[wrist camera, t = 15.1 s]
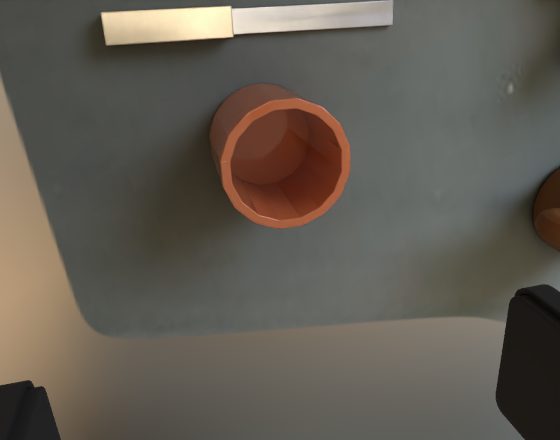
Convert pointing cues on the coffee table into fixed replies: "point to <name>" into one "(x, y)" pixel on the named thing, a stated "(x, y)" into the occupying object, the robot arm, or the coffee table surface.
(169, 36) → the knife
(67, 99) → the coffee table surface
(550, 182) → the mug
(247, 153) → the pot
